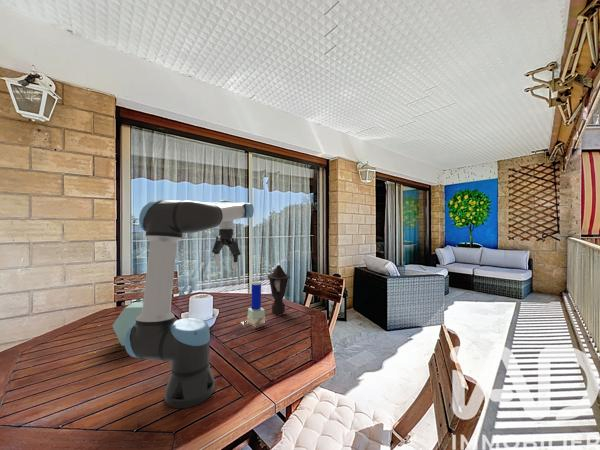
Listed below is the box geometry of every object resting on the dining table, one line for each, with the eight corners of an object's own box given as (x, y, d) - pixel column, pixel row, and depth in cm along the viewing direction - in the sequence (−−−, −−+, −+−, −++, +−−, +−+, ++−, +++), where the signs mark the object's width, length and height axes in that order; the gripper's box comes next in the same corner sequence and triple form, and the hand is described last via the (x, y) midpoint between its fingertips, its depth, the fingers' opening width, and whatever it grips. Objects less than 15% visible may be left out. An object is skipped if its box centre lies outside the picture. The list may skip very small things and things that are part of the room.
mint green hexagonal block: (146, 347, 124) (171, 311, 125) (138, 355, 116) (164, 317, 117) (115, 328, 122) (140, 292, 123) (104, 336, 114) (131, 297, 115)
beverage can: (262, 308, 143) (263, 281, 142) (256, 311, 138) (256, 283, 138) (255, 306, 145) (256, 280, 145) (249, 309, 141) (249, 282, 141)
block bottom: (254, 327, 137) (254, 319, 137) (247, 323, 142) (247, 316, 142) (264, 323, 142) (265, 316, 142) (257, 319, 147) (257, 313, 147)
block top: (252, 319, 137) (252, 312, 137) (247, 315, 143) (247, 308, 143) (264, 317, 141) (264, 309, 141) (259, 313, 147) (259, 306, 147)
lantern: (289, 318, 152) (290, 267, 151) (264, 317, 152) (265, 267, 151) (290, 309, 166) (291, 263, 166) (267, 309, 167) (268, 263, 166)
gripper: (247, 229, 137) (246, 268, 137) (216, 227, 151) (216, 263, 151) (237, 229, 131) (236, 270, 131) (205, 227, 144) (205, 265, 145)
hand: (225, 266), depth 141 cm, fingers open, 13 cm apart
